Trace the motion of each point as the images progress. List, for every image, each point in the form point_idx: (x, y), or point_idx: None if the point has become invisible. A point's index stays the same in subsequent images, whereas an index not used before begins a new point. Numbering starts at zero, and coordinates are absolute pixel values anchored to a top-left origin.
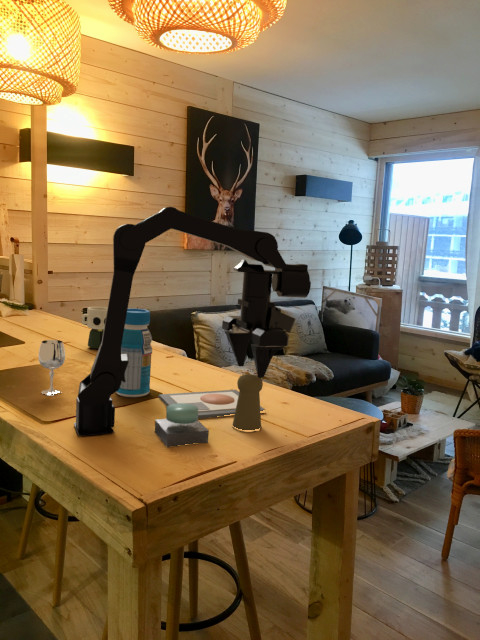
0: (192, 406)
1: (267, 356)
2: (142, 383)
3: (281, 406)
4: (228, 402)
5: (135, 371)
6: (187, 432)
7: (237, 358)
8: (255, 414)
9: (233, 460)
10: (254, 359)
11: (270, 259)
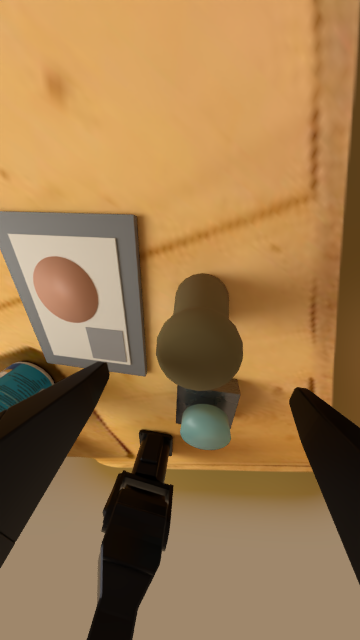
0: (201, 423)
1: None
2: (33, 391)
3: (88, 126)
4: (87, 282)
5: None
6: (233, 415)
7: (90, 413)
8: (228, 310)
9: (306, 379)
10: (354, 553)
11: None
